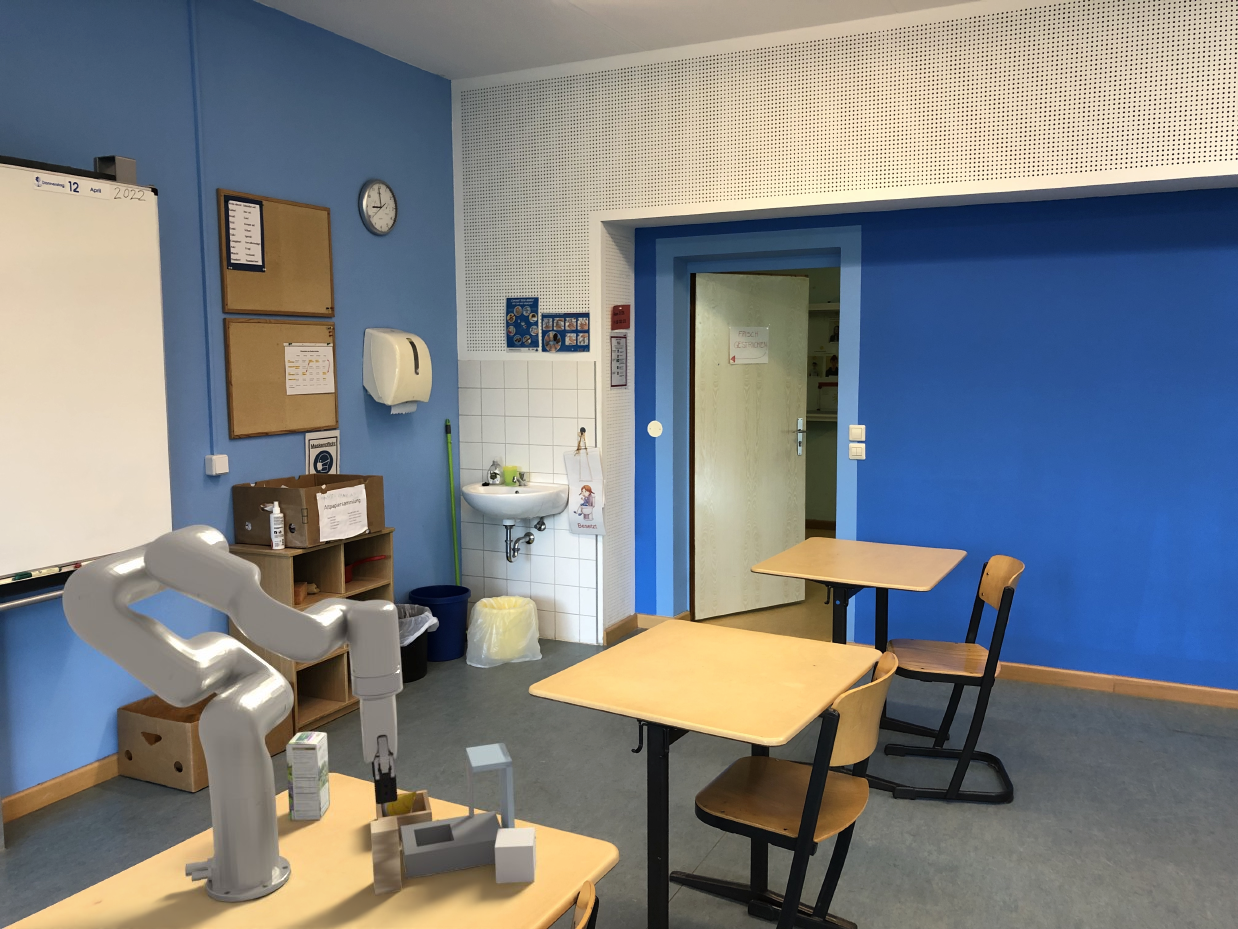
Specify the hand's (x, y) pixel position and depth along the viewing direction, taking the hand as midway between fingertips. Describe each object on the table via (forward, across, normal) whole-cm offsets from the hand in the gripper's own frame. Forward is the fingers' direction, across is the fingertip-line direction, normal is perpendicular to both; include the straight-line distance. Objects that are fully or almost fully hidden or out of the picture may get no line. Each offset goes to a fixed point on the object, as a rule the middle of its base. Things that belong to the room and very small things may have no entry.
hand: (384, 788), depth 146 cm
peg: (+16, 0, -1) cm, 16 cm away
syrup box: (+16, -30, -13) cm, 36 cm away
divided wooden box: (+16, -19, +3) cm, 25 cm away
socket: (+16, -6, +10) cm, 20 cm away
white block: (+17, +3, +19) cm, 26 cm away
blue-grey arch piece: (+16, -7, +17) cm, 25 cm away
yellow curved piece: (+16, -19, +3) cm, 25 cm away
